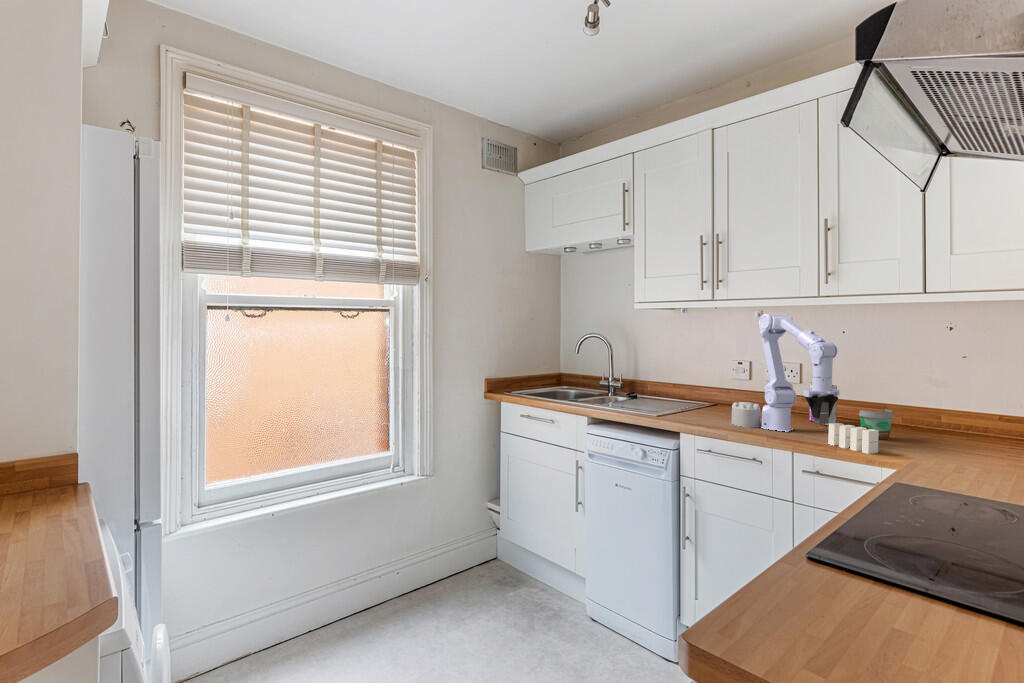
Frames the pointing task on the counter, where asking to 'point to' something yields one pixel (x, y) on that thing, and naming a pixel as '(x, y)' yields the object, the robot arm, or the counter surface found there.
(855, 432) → the domino
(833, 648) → the counter surface
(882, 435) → the food container
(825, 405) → the black domino
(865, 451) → the domino
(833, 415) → the candy bar box
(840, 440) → the domino
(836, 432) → the domino
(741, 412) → the lumpy-topped squat cylinder
